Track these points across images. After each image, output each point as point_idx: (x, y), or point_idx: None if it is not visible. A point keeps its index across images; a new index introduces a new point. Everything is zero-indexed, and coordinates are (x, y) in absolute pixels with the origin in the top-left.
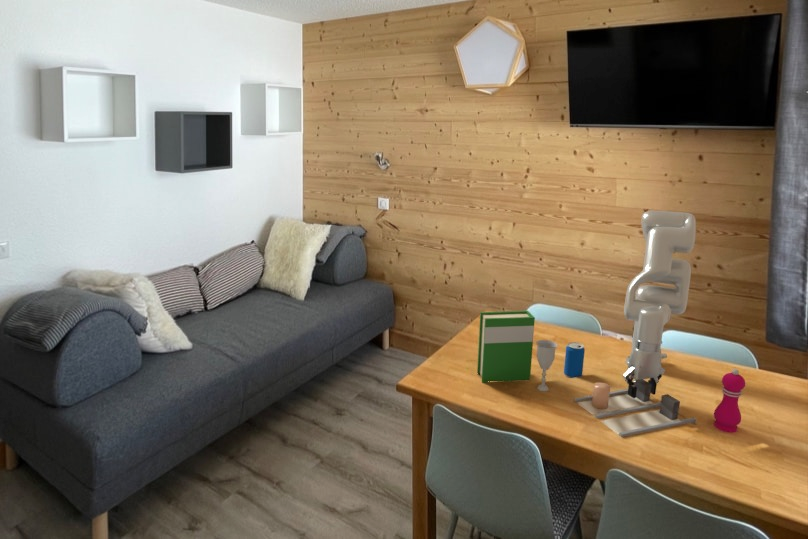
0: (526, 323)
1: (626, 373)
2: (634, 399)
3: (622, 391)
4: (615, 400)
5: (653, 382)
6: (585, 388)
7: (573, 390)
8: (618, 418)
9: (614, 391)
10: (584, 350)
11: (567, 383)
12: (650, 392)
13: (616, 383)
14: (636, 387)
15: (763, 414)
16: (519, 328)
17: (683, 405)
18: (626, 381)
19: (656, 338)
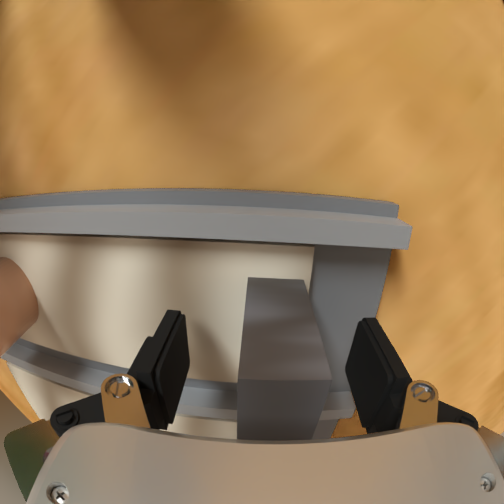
0: None
1: (21, 476)
2: (212, 325)
3: (178, 236)
4: (89, 288)
5: (376, 422)
6: (69, 54)
7: (15, 76)
8: (54, 387)
9: (117, 215)
10: None
11: (43, 5)
12: (352, 350)
13: (322, 34)
14: (162, 429)
15: (496, 420)
16: None
17: (424, 379)
18: (71, 410)
19: None
